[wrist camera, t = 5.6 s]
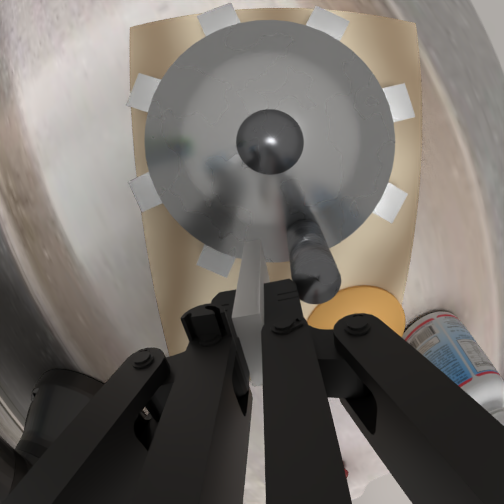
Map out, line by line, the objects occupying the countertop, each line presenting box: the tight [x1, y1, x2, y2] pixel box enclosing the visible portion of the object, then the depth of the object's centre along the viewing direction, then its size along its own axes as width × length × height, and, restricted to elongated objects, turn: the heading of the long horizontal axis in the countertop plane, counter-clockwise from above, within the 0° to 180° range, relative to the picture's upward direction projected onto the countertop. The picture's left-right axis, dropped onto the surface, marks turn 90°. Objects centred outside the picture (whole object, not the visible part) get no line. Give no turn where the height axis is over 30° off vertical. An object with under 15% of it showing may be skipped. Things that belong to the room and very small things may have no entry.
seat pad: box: [307, 285, 405, 337], centre depth 19 cm, size 7×7×1 cm
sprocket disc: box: [126, 3, 415, 304], centre depth 12 cm, size 15×15×6 cm
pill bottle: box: [402, 312, 504, 426], centre depth 16 cm, size 6×6×11 cm
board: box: [130, 8, 422, 380], centre depth 18 cm, size 16×24×1 cm, turn 2°
